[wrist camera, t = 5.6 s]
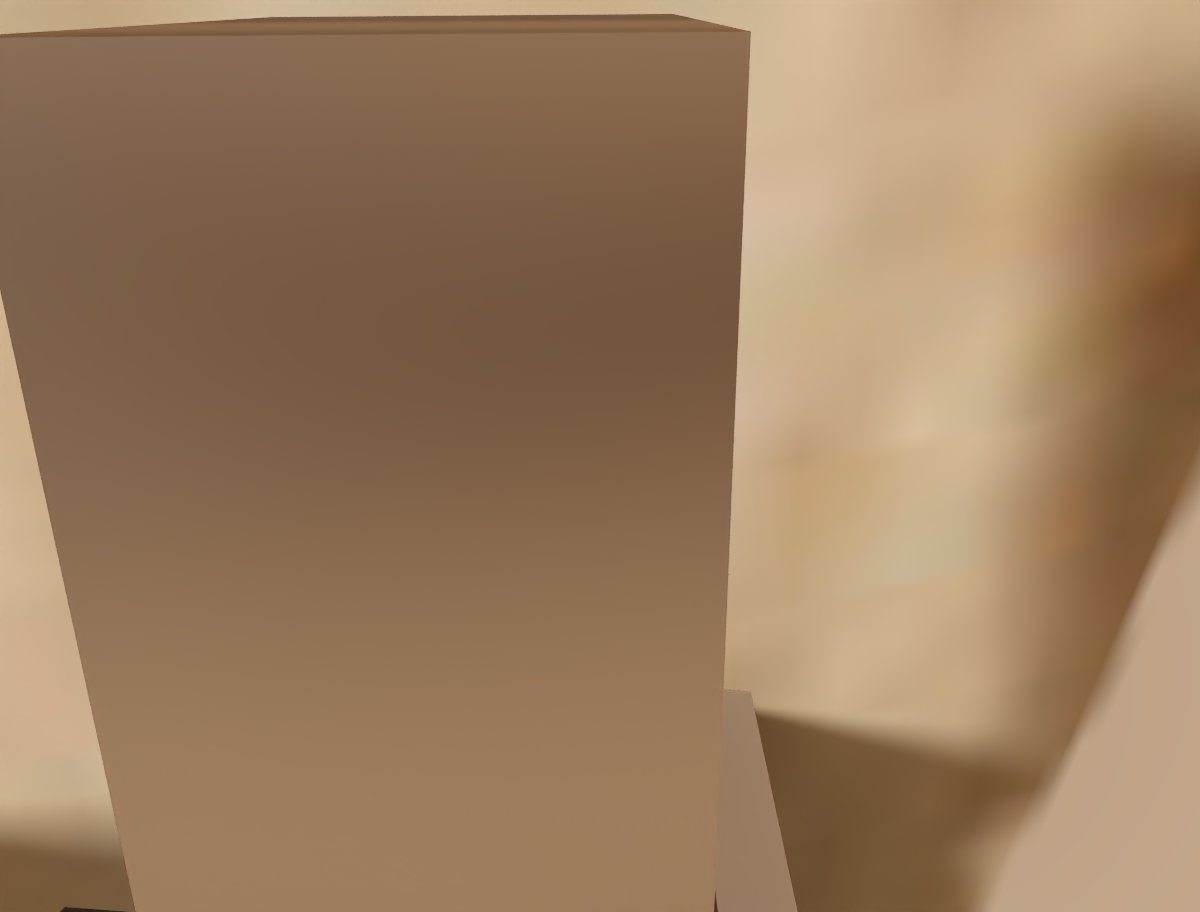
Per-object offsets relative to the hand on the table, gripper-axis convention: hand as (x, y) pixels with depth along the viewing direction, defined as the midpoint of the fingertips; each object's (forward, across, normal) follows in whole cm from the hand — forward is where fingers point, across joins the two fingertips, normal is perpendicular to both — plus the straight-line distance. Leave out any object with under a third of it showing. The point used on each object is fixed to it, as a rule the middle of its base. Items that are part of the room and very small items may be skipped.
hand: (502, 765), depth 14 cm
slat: (+1, 0, 0) cm, 1 cm away
